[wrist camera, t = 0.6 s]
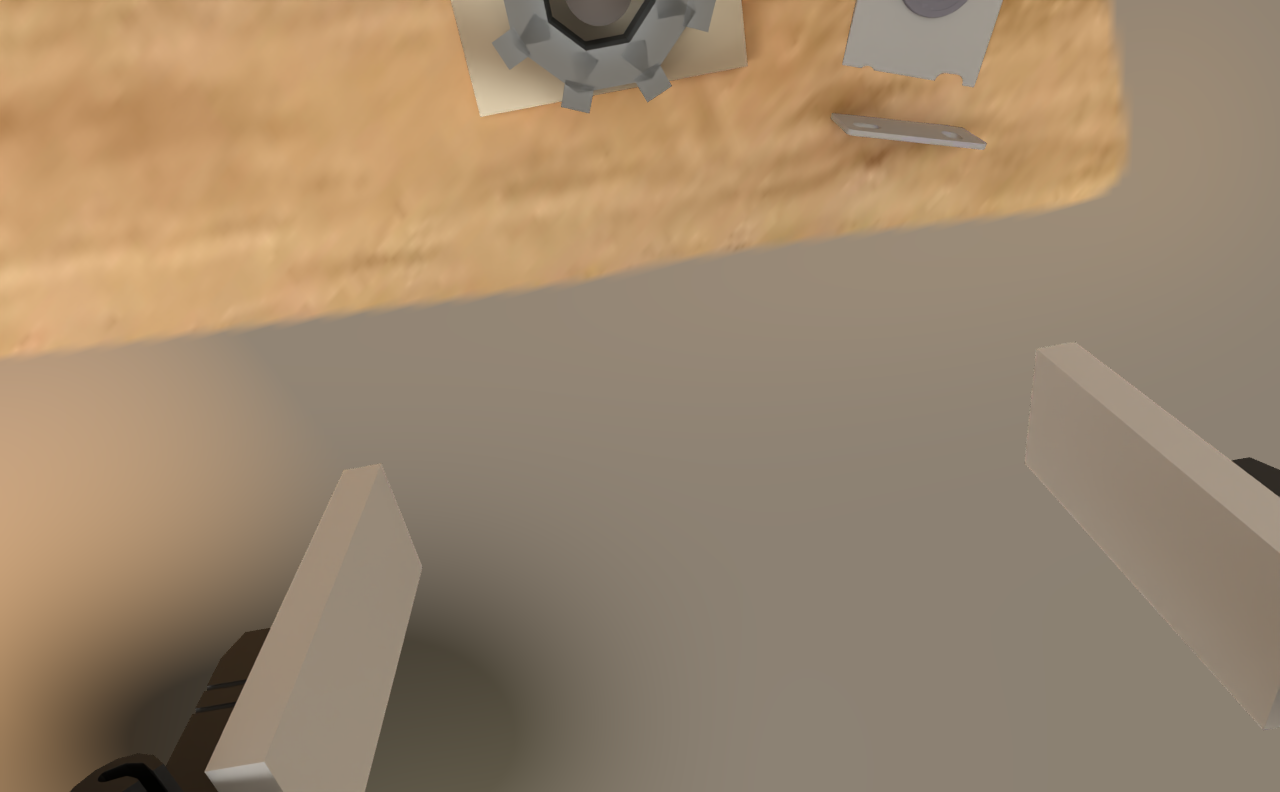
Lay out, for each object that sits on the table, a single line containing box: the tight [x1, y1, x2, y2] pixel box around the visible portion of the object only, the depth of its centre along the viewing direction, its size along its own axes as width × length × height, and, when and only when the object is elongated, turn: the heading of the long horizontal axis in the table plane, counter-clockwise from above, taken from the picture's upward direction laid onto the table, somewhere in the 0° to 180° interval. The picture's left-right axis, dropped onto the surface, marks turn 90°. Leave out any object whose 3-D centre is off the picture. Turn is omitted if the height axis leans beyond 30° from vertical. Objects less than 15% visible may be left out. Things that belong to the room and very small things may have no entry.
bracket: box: [831, 0, 1003, 150], centre depth 34 cm, size 7×10×4 cm, turn 174°
